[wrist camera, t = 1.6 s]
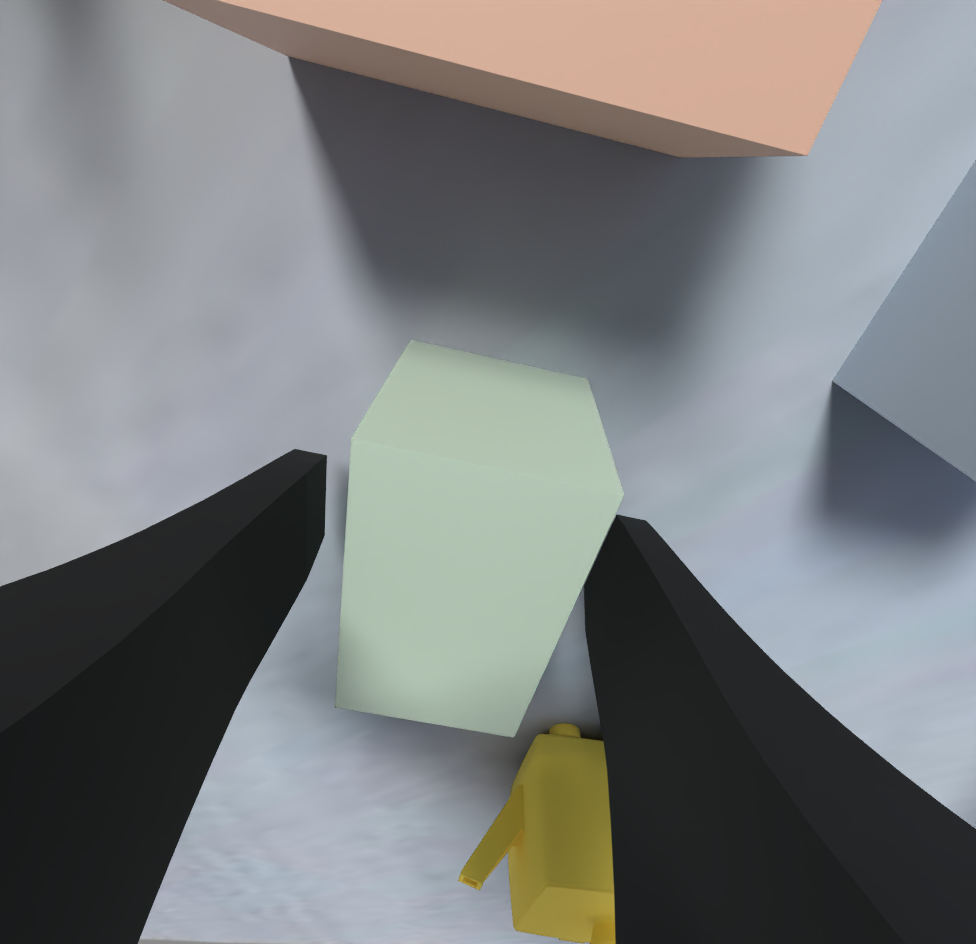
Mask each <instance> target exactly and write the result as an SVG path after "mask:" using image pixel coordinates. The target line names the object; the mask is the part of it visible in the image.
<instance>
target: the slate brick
mask: <svg viewBox="0 0 976 944" xmlns="http://www.w3.org/2000/svg"><path fill="white" fill-rule="evenodd" d="M833 382H834V383H836V384H837V385H839V386H840V387H842V388H843V389H844V390H846V391H847V392H849V393H850V394H852V395H853V396H854V397H856V398H857V399H859V400H860V401H862V402H863V403H864V404H866V405H867V406H869V407H870V408H871V409H873V410H874V411H876V412H877V413H879V414H880V415H881V416H883V417H884V418H886V419H887V420H889V421H890V422H891V423H893V424H894V425H896V426H897V427H898V428H900V429H901V430H903V431H904V432H906V433H907V434H908V435H910V436H911V437H913V438H914V439H916V440H917V441H918V442H920V443H921V444H923V445H924V446H926V447H927V448H928V449H930V450H931V451H933V452H934V453H935V454H937V455H938V456H940V457H941V458H943V459H944V460H945V461H947V462H948V463H950V464H951V465H953V466H954V467H955V468H957V469H958V470H960V471H961V472H963V473H964V474H965V475H967V476H968V477H970V478H971V479H972V480H974V481H975V482H976V161H975V162H974V164H973V165H972V167H971V168H970V170H969V171H968V173H967V175H966V176H965V178H964V179H963V181H962V182H961V184H960V185H959V187H958V188H957V190H956V191H955V193H954V195H953V196H952V198H951V199H950V201H949V202H948V204H947V205H946V207H945V208H944V210H943V211H942V213H941V215H940V216H939V218H938V219H937V221H936V222H935V224H934V225H933V227H932V228H931V230H930V231H929V233H928V235H927V236H926V238H925V239H924V241H923V242H922V244H921V245H920V247H919V248H918V250H917V251H916V253H915V255H914V256H913V258H912V259H911V261H910V262H909V264H908V265H907V267H906V268H905V270H904V271H903V273H902V275H901V276H900V278H899V279H898V281H897V282H896V284H895V285H894V287H893V288H892V290H891V291H890V293H889V295H888V296H887V298H886V299H885V301H884V302H883V304H882V305H881V307H880V308H879V310H878V311H877V313H876V315H875V316H874V318H873V319H872V321H871V322H870V324H869V325H868V327H867V328H866V330H865V331H864V333H863V335H862V336H861V338H860V339H859V341H858V342H857V344H856V345H855V347H854V348H853V350H852V351H851V353H850V355H849V356H848V358H847V359H846V361H845V362H844V364H843V365H842V367H841V368H840V370H839V371H838V373H837V375H836V376H835V378H834V379H833Z"/></svg>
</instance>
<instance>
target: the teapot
mask: <svg viewBox="0 0 976 944" xmlns="http://www.w3.org/2000/svg"><path fill="white" fill-rule="evenodd" d="M549 733H550V734H538V735H537V736H536V737H535V739H534V741H533V743H532V744H531V746H530V748H529V750H528V752H527V754H526V756H525V758H524V760H523V762H522V764H521V766H520V769H519V771H518V773H517V775H516V778H515V780H514V782H513V785H512V788H511V793H510V798H509V800H508V801H507V803H506V804H505V806H504V807H503V809H502V810H501V812H500V813H499V815H498V816H497V818H496V819H495V821H494V822H493V824H492V826H491V827H490V829H489V830H488V832H487V833H486V835H485V836H484V838H483V839H482V841H481V842H480V844H479V845H478V847H477V848H476V850H475V851H474V853H473V854H472V856H471V857H470V859H469V860H468V862H467V863H466V865H465V866H464V868H463V869H462V871H461V874H460V876H459V880H458V881H460V882H462V883H464V884H466V885H469V886H471V887H473V888H475V889H478V890H480V889H481V887H482V885H483V882H484V881H485V880H486V878H487V877H488V876H489V875H490V873H491V872H492V871H493V870H494V869H495V867H496V866H497V865H498V864H499V862H500V861H501V860H502V859H503V857H504V856H505V855H506V854H507V852H508V864H509V880H510V893H511V905H512V916H513V926H514V928H515V930H517V931H520V932H525V933H530V934H536V935H543V936H549V937H555V938H559V940H564V941H571V942H578V943H584V942H590V944H615V905H614V879H613V858H612V837H611V820H610V806H609V791H608V776H607V766H606V758H605V750H604V742H603V741H600V740H593V739H585V738H581V735H580V730H579V728H578V727H577V726H575V725H572V724H568V723H560V724H556V725H554V726H552V727H551V728H550V729H549Z"/></svg>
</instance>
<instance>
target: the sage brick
mask: <svg viewBox="0 0 976 944" xmlns="http://www.w3.org/2000/svg"><path fill="white" fill-rule="evenodd" d="M623 496H624V493H623V489H622V486H621V483H620V480H619V477H618V473H617V470H616V467H615V464H614V461H613V457H612V454H611V451H610V448H609V445H608V442H607V438H606V435H605V432H604V429H603V426H602V422H601V419H600V416H599V413H598V410H597V406H596V403H595V400H594V397H593V394H592V390H591V387H590V384H589V381H588V379H586V378H581V377H577V376H572V375H568V374H563V373H559V372H554V371H550V370H545V369H541V368H536V367H532V366H528V365H523V364H519V363H514V362H510V361H505V360H501V359H496V358H492V357H487V356H483V355H478V354H474V353H469V352H465V351H460V350H456V349H451V348H447V347H442V346H438V345H433V344H429V343H424V342H420V341H415V340H410V341H409V343H408V345H407V346H406V348H405V350H404V351H403V353H402V355H401V356H400V358H399V360H398V361H397V363H396V365H395V366H394V368H393V370H392V371H391V373H390V375H389V376H388V378H387V380H386V381H385V383H384V385H383V386H382V388H381V390H380V391H379V393H378V395H377V396H376V398H375V400H374V401H373V403H372V405H371V406H370V408H369V410H368V411H367V413H366V415H365V416H364V418H363V420H362V421H361V423H360V425H359V426H358V428H357V430H356V431H355V433H354V435H353V436H352V438H351V451H350V468H349V484H348V500H347V517H346V533H345V550H344V566H343V583H342V599H341V615H340V632H339V648H338V665H337V681H336V698H335V707H336V708H342V709H348V710H353V711H359V712H365V713H371V714H377V715H383V716H389V717H395V718H401V719H407V720H413V721H419V722H425V723H431V724H437V725H442V726H448V727H454V728H460V729H466V730H472V731H478V732H484V733H490V734H496V735H502V736H508V737H514V736H515V734H516V732H517V730H518V728H519V725H520V723H521V721H522V719H523V717H524V714H525V712H526V710H527V708H528V706H529V703H530V701H531V699H532V697H533V695H534V692H535V690H536V688H537V686H538V684H539V681H540V679H541V677H542V675H543V673H544V670H545V668H546V666H547V664H548V662H549V659H550V657H551V655H552V653H553V651H554V648H555V646H556V644H557V642H558V640H559V637H560V635H561V633H562V631H563V629H564V626H565V624H566V622H567V620H568V618H569V615H570V613H571V611H572V609H573V607H574V604H575V602H576V600H577V598H578V596H579V593H580V591H581V589H582V587H583V585H584V582H585V580H586V578H587V576H588V574H589V571H590V569H591V567H592V565H593V563H594V560H595V558H596V556H597V554H598V552H599V549H600V547H601V545H602V543H603V540H604V538H605V536H606V534H607V532H608V529H609V527H610V525H611V523H612V521H613V518H614V516H615V514H616V512H617V510H618V507H619V505H620V503H621V501H622V499H623Z"/></svg>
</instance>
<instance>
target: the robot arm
mask: <svg viewBox="0 0 976 944" xmlns="http://www.w3.org/2000/svg"><path fill="white" fill-rule="evenodd" d="M326 466H327V455H322V454H317V453H312V452H307V451H302V450H297V449H294V450H292V451H290V452H288V453H286V454H285V455H283V456H281V457H279V458H278V459H276V460H274V461H272V462H271V463H269V464H267V465H265V466H264V467H262V468H260V469H258V470H257V471H255V472H253V473H251V474H250V475H248V476H246V477H244V478H243V479H241V480H239V481H237V482H235V483H234V484H232V485H230V486H228V487H226V488H225V489H223V490H221V491H219V492H217V493H216V494H214V495H212V496H210V497H208V498H207V499H205V500H203V501H201V502H199V503H197V504H195V505H193V506H191V507H189V508H187V509H185V510H183V511H181V512H179V513H177V514H175V515H173V516H171V517H169V518H167V519H165V520H163V521H161V522H159V523H157V524H155V525H153V526H151V527H149V528H147V529H145V530H142V531H140V532H138V533H136V534H134V535H131V536H129V537H127V538H125V539H122V540H120V541H118V542H116V543H113V544H111V545H109V546H106V547H104V548H101V549H99V550H97V551H94V552H92V553H89V554H87V555H84V556H82V557H79V558H77V559H74V560H72V561H70V562H67V563H65V564H62V565H59V566H57V567H54V568H52V569H49V570H46V571H43V572H41V573H38V574H35V575H32V576H29V577H26V578H23V579H21V580H18V581H15V582H12V583H9V584H6V585H3V586H0V944H138V941H139V939H140V936H141V934H142V931H143V928H144V926H145V923H146V921H147V918H148V915H149V913H150V910H151V908H152V905H153V903H154V900H155V898H156V895H157V893H158V890H159V888H160V885H161V883H162V880H163V878H164V876H165V873H166V871H167V868H168V866H169V863H170V861H171V858H172V856H173V853H174V851H175V848H176V846H177V844H178V841H179V839H180V836H181V834H182V831H183V829H184V826H185V824H186V822H187V819H188V817H189V815H190V812H191V810H192V808H193V805H194V803H195V801H196V798H197V796H198V794H199V791H200V789H201V787H202V784H203V782H204V779H205V777H206V775H207V772H208V770H209V768H210V765H211V763H212V761H213V759H214V756H215V754H216V752H217V750H218V747H219V745H220V743H221V741H222V738H223V736H224V734H225V732H226V729H227V727H228V725H229V723H230V720H231V718H232V716H233V714H234V711H235V709H236V707H237V705H238V703H239V701H240V699H241V697H242V695H243V693H244V692H245V690H246V688H247V686H248V684H249V682H250V680H251V678H252V677H253V675H254V673H255V671H256V669H257V668H258V666H259V664H260V662H261V661H262V659H263V657H264V655H265V654H266V652H267V650H268V648H269V646H270V645H271V643H272V641H273V639H274V638H275V636H276V634H277V632H278V630H279V629H280V627H281V625H282V623H283V622H284V620H285V618H286V616H287V615H288V613H289V611H290V609H291V607H292V606H293V604H294V602H295V600H296V598H297V597H298V595H299V593H300V591H301V589H302V587H303V586H304V584H305V582H306V580H307V578H308V575H309V573H310V571H311V568H312V566H313V563H314V561H315V559H316V556H317V553H318V551H319V548H320V546H321V543H322V541H323V538H324V535H325V500H326ZM584 601H585V630H586V638H587V645H588V651H589V657H590V664H591V670H592V676H593V682H594V688H595V694H596V700H597V706H598V712H599V718H600V724H601V730H602V736H603V742H604V750H605V758H606V766H607V776H608V791H609V806H610V820H611V837H612V858H613V879H614V905H615V944H976V829H975V828H974V827H972V826H971V825H970V824H968V823H967V822H966V821H964V820H963V819H961V818H960V817H959V816H957V815H956V814H955V813H953V812H952V811H951V810H949V809H948V808H947V807H945V806H944V805H942V804H941V803H940V802H938V801H937V800H936V799H935V798H933V797H932V796H931V795H929V794H928V793H927V792H926V791H924V790H923V789H922V788H920V787H919V786H918V785H916V784H915V783H914V782H913V781H911V780H910V779H909V778H907V777H906V776H905V775H904V774H902V773H901V772H900V771H898V770H897V769H896V768H895V767H894V766H892V765H891V764H890V763H889V762H887V761H886V760H885V759H884V758H883V757H881V756H880V755H879V754H878V753H876V752H875V751H874V750H873V749H872V748H870V747H869V746H868V745H867V744H865V743H864V742H863V741H862V740H861V739H859V738H858V737H857V736H856V735H855V734H853V733H852V732H851V731H850V730H848V729H847V728H846V727H845V726H844V725H843V724H842V723H840V722H839V721H838V720H837V719H836V718H835V717H833V716H832V715H831V714H830V713H829V712H828V711H826V710H825V709H824V708H823V707H822V706H821V705H820V704H819V703H818V702H817V701H815V700H814V699H813V698H812V697H811V696H810V695H809V694H808V693H807V692H806V691H805V690H804V689H802V688H801V687H800V686H799V685H798V684H797V683H796V682H795V681H794V680H793V679H792V678H790V677H789V676H788V675H787V674H786V673H785V672H784V671H783V670H782V669H781V668H780V667H779V666H778V665H777V664H776V663H775V662H774V661H773V660H772V659H771V658H770V657H769V656H768V655H767V654H766V653H765V652H764V651H763V650H762V649H761V648H760V647H759V646H758V645H757V644H756V643H755V642H754V641H753V640H752V639H751V638H750V637H749V636H748V635H747V634H746V633H745V632H744V631H743V630H742V628H741V627H740V626H739V625H738V624H737V623H736V622H735V621H734V620H733V619H732V618H731V617H730V616H729V615H728V613H727V612H726V611H725V610H724V609H723V608H722V607H721V606H720V605H719V604H718V602H717V601H716V600H715V599H714V598H713V597H712V596H711V595H710V593H709V592H708V591H707V590H706V589H705V588H704V587H703V585H702V584H701V583H700V582H699V581H698V580H697V578H696V577H695V576H694V575H693V574H692V573H691V571H690V570H689V569H688V568H687V567H686V566H685V564H684V563H683V562H682V561H681V560H680V559H679V557H678V556H677V555H676V554H675V553H674V551H673V550H672V549H671V548H670V547H669V546H668V544H667V543H666V542H665V541H664V540H663V539H662V537H661V536H660V535H659V534H658V533H657V532H656V531H655V530H654V528H653V527H652V526H651V525H650V524H649V523H648V522H647V521H645V520H640V519H635V518H630V517H625V516H621V515H616V517H615V519H614V522H613V524H612V526H611V528H610V530H609V532H608V535H607V537H606V539H605V541H604V543H603V546H602V548H601V550H600V552H599V554H598V557H597V559H596V561H595V563H594V565H593V568H592V570H591V572H590V574H589V576H588V579H587V581H586V583H585V585H584Z"/></svg>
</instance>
